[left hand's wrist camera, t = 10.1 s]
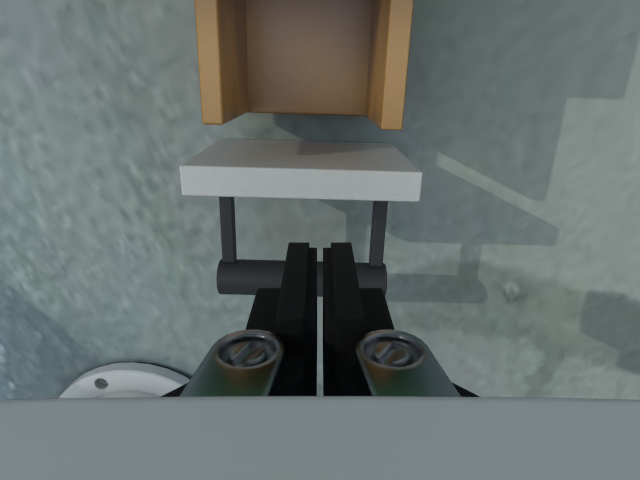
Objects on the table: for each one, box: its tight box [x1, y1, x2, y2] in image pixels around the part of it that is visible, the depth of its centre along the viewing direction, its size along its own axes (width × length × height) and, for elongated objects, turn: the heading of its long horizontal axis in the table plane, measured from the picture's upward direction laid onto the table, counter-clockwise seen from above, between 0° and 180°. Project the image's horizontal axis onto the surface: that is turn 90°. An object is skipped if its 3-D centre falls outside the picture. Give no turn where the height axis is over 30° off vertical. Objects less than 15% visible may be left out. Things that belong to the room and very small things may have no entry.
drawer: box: [180, 0, 423, 297], centre depth 19 cm, size 20×9×8 cm, turn 178°
